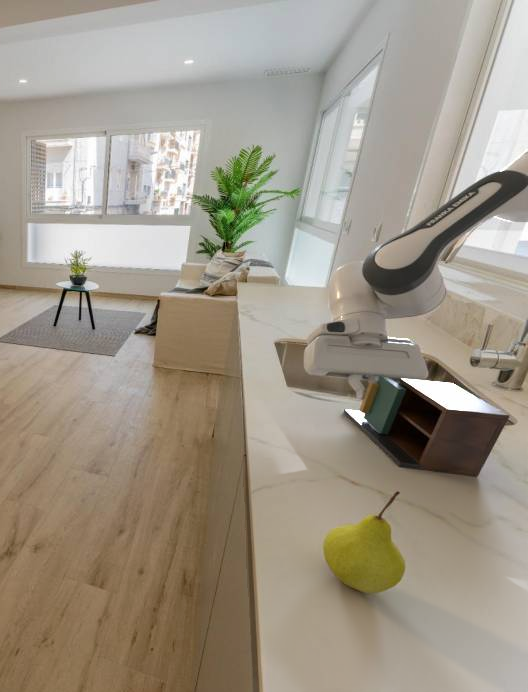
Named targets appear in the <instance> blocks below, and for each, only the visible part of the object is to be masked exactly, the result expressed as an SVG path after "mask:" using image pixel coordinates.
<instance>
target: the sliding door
mask: <svg viewBox="0 0 528 692" xmlns="http://www.w3.org/2000/svg"><path fill="white" fill-rule="evenodd" d="M366 389H367V391H366V393H365V396H364V399H363V400H361V404H360V407H359V409H358V411H360V412H361V413H364V414H365V415H364V419H365V420H366V421H367V422H368V423H369V424H371V425H372V426H373V427H374V428H375V429H376V430H377V431H378V432H379V433H380V434H387V435H388V433H389V431H390V428H391V426H392V424H393V421H394V419H395V416H396V414H397V411H398V409H399V407H400V404H401V402H402V399H403V397H404V395H405V392H406V389H405V388H403V387H402V386H400V385H399V384H398V383H396V382H395V381H393V380H392V379H390V378H389V377H387V376H379V379H378V381H377V383H373V382H369V381H368V386H367V387H366Z"/></svg>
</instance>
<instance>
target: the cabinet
mask: <svg viewBox="0 0 528 692" xmlns="http://www.w3.org/2000/svg"><path fill="white" fill-rule="evenodd" d="M398 384H399V385H400V386H402V387H403V388H405V389H406V392H405V395H404V397H403V399H402V402H401V404H400V407H399V409H398V411H397V414H396V416H395V419H394V421H393V424H392V426H391V428H390V431H389V433H388V435H387V434H380V433H379V432H378V431H377V430H376V429H375V428H374V427H373V426H372V425H371V424H369V423H368V422H367V421H366V420H365V419H364V415H365V413H361V412H360V411H359V410H355V409H346V408H344V409H343V411H342V412H343V414H344V415H345V416H346V417H347V418H348V419H349V420H350V422H352V423H353V424H354V425H356V427H357V428H358V429H359V430H360V431H362V432H363V433H364V435H366V436H367V438H369V439H370V440H371V441H372V442H373V443H374V444H375V445H376V446H377V448H379V449H380V450H381V451H382V452H383V453H384V454H385V455H386V456H387V457H388V458H389V459H391V461H392V462H393V463H395V465H396V466H397V467H398V468H406V469H414V470H423V471H431V472H437V473H446V474H454V475H461V476H468V477H469V476H470V477H475V478H476V477H479V475H480V473H481V471H482V469H483V468H484V466H485V463H486V462H487V460H488V458H489V456H490V454H491V453H492V450H493V448H494V447H495V445H496V444H497V441H498V439H499V437H500V436H501V433H502V432H503V430H504V429H505V426H506V424H507V422H508V420H509V418H510V414H508V413H506V412H504V411H502V410H500V409H499V408H498V407H496V406H493V405H492V404H490V403H488V402H486V401H484V400H483V399H481V398H479V397H478V396H476V395H474V394H472V393H470V392H469V391H467V390H465V389H463V388H461V387H460V386H458V385H456V384H454V383H453V382H443V381H431V380H412V379H402V378H401V379H400V381H399V383H398Z"/></svg>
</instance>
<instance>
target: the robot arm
mask: <svg viewBox="0 0 528 692" xmlns="http://www.w3.org/2000/svg"><path fill="white" fill-rule="evenodd" d="M491 218H497V219H499V220H503V221H507V222H510V223H511V222H512V223H528V149H526V150H525V151H524V152H523V153H521V154H520V155H519V156H518V157H517V158H515V159H514V160H513V161H512V162H510V163H509V164H508V165H507V166H505V167H504V168H503V169H501V170H498V171H495V172H492V173H490V174H488V175H486V176H485V177H482V178H481V179H479V180H477V181H475V182H474V183H473V184H471V185H469V186H468V187H466V188H465V189H464V190H462V191H461V192H459V193H458V194H457V195H455V196H454V197H452V198H451V199H450V200H448V201H447V202H446V203H445V204H443V205H442V206H440V207H439V208H438V209H436V210H435V211H433V212H432V213H430V214H429V215H428V216H426V217H425V218H424V219H422V220H421V221H419V222H418V223H417V224H415V225H413V226H412V227H411V228H409V229H408V230H406V231H404V232H402V233H400V234H398V235H396V236H394V237H392V238H389V239H388V240H386V241H384V242H382V243H380V244H379V245H378V246H376V247H375V248H374V249H372V250H371V251H370V252H369V253H368V255H367V256H366V257H365V259H364V260H355V261H351V262H347V263H346V264H344V265H341V266H340V267H338V268H337V269H335V270H334V271H333V273H332V274H331V275H330V277H329V280H328V283H327V304H328V309H329V312H330V314H331V321H328V322H324V323H323V322H322V323H321V324H319V325H318V326H317V327H315V328H314V329H313V330H312V331H311V332H310V333H309V334H308V336H307V337H306V338H305V343H306V345H307V346H306V347H305V349H304V351H303V368H304V371H305V372H306V373H307V374H308V375H309V376H319V377H329V378H330V377H331V378H340V379H347V383H348V385H349V386H350V387H351V388H352V389H353V391H354V392H355V394H356V399H357V400H359V401H360V400H361V401H363V399H364V396H365V393H366V391H367V388H366V387H365V386H364V385H363V383H362V382H361V381H368V383H369V382H373V383H377V381H378V379H379V376H387V377H389V378H390V379H392V380H393V381H395V382H396V383H399V381H400V379H401V378H402V379H412V380H423V381H426V379H427V378H428V377H429V370H428V367H427V364H426V361H425V358H424V356H423V354H422V351H421V347H420V345H419V344H417V343H416V342H415V341H412V340H411V339H409V338H396V337H389V334H388V327H387V322H386V320H392V319H404V318H412V317H418V316H422V315H425V314H427V313H430V312H431V311H433V310H435V309H436V308H438V307H439V306H440V305H441V304H442V302H443V301H444V299H445V297H446V294H447V287H446V285H445V281H444V278H443V275H442V273H441V270H440V267H439V262H440V259H441V257H442V255H443V253H444V252H445V251H446V249H448V248H449V247H451V246H452V245H453V244H455V243H456V242H457V241H459V240H460V239H461V238H463V237H465V236H466V235H467V234H469V233H470V232H472V231H473V230H474V229H476V228H478V227H479V226H481V225H482V224H483V223H484V222H486V221H487V220H489V219H491Z"/></svg>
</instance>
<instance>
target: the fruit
mask: <svg viewBox="0 0 528 692" xmlns="http://www.w3.org/2000/svg"><path fill="white" fill-rule="evenodd" d="M400 494H401V492H400V491H398V490H397V491H395V492H394V493H393V495H392V496H391V498H390V499H388V501H387V503H386V504H385V506H384V507H383V508H382V510H380V512H379V514H369V515H366V516H365V517H364V518H362V520H360V521H359V522H358V523H356V524H345V525H341V526H336V527H335V528H332V529H331V530H329V532H328V533H326V535H325V537H324V540H323V544H322V548H323V549H322V551H323V556H324V560H325V562H326V564H327V566H328V568H329V569H330V571H331V572H332V574H333V575H334V576H335V577H336V578H337V579H338V580H339V581H340V582H341V583H342V584H345V585H346V586H348V587H350V588H352V589H354V590H357V591H359V592H362V593H366V594H371V595H372V594H374V595H375V594H378V593H381V592H385V591H387V590H389V589H392V588H393V587H395V586H397V585H398V584H399V583H400V582H401V581H402V579H403V577H404V575H405V570H406V560H405V559H404V556H403V555H402V553H401V551H400V549H399V547H397V545H396V543H395V542H394V541H393V539H392V527H391V525H390V523H389V521H388V520H387V519H386V518H385V517H383V514H384V513H385V511H386V510H387V509H388V508H389V507H390V506H391V505H392V503H393V502H394V501H395V499H396V497H398V496H399V495H400Z"/></svg>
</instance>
